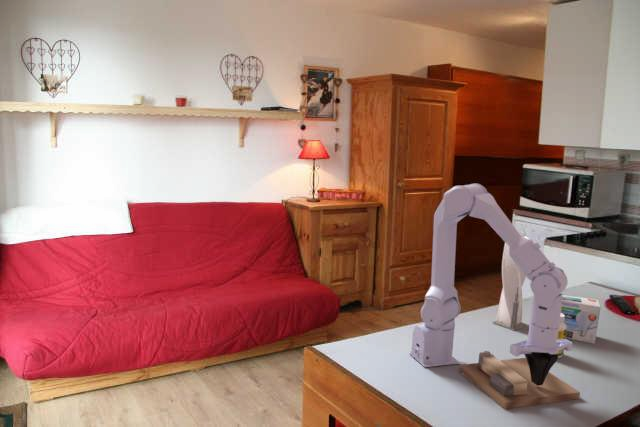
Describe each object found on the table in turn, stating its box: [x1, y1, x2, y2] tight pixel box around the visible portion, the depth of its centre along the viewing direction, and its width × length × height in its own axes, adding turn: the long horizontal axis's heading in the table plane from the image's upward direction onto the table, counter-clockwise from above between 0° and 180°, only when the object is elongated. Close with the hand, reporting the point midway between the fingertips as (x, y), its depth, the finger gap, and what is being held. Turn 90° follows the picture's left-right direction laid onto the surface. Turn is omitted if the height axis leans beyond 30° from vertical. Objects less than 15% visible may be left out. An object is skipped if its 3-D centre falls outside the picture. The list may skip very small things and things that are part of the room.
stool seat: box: [458, 357, 581, 410], centre depth 115 cm, size 19×17×4 cm
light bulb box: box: [561, 294, 602, 344], centre depth 145 cm, size 11×7×11 cm, turn 68°
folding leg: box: [477, 350, 528, 396], centre depth 114 cm, size 14×3×4 cm, turn 16°
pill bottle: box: [556, 313, 567, 359], centre depth 132 cm, size 6×6×11 cm
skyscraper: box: [492, 236, 530, 332], centre depth 151 cm, size 8×8×28 cm
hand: (536, 383), depth 111 cm, fingers closed
